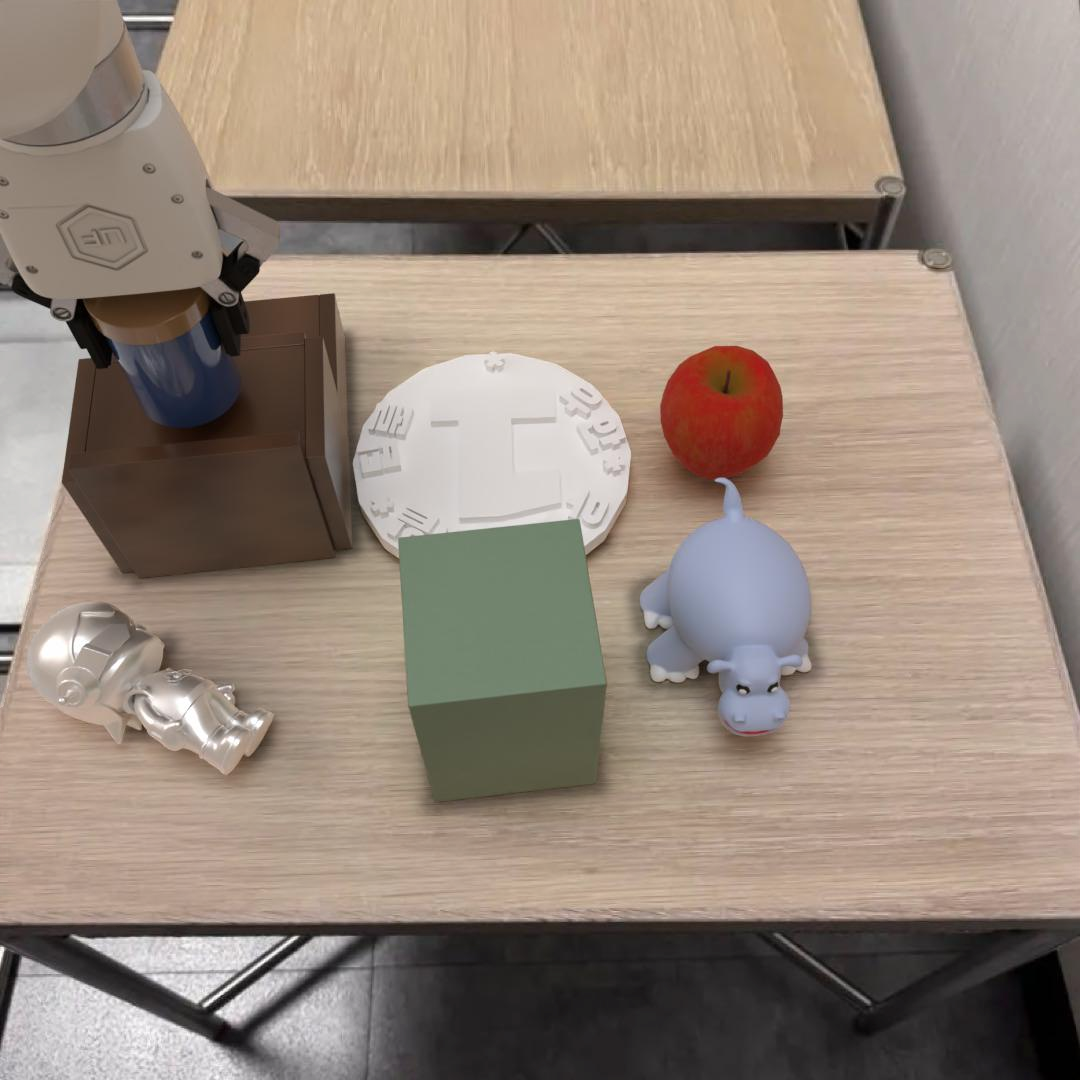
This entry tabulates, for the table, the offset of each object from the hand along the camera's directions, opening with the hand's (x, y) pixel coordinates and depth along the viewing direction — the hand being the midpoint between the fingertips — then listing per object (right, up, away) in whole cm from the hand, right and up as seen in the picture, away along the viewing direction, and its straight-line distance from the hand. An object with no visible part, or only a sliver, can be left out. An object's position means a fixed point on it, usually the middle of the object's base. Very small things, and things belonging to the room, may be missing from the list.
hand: (170, 343), depth 63 cm
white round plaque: (+18, -7, +16) cm, 25 cm away
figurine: (-2, -23, +6) cm, 24 cm away
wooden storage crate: (-1, -5, +17) cm, 18 cm away
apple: (+34, -6, +16) cm, 38 cm away
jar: (0, -2, +4) cm, 4 cm away
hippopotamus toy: (+34, -19, +8) cm, 40 cm away
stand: (+20, -23, +5) cm, 31 cm away
